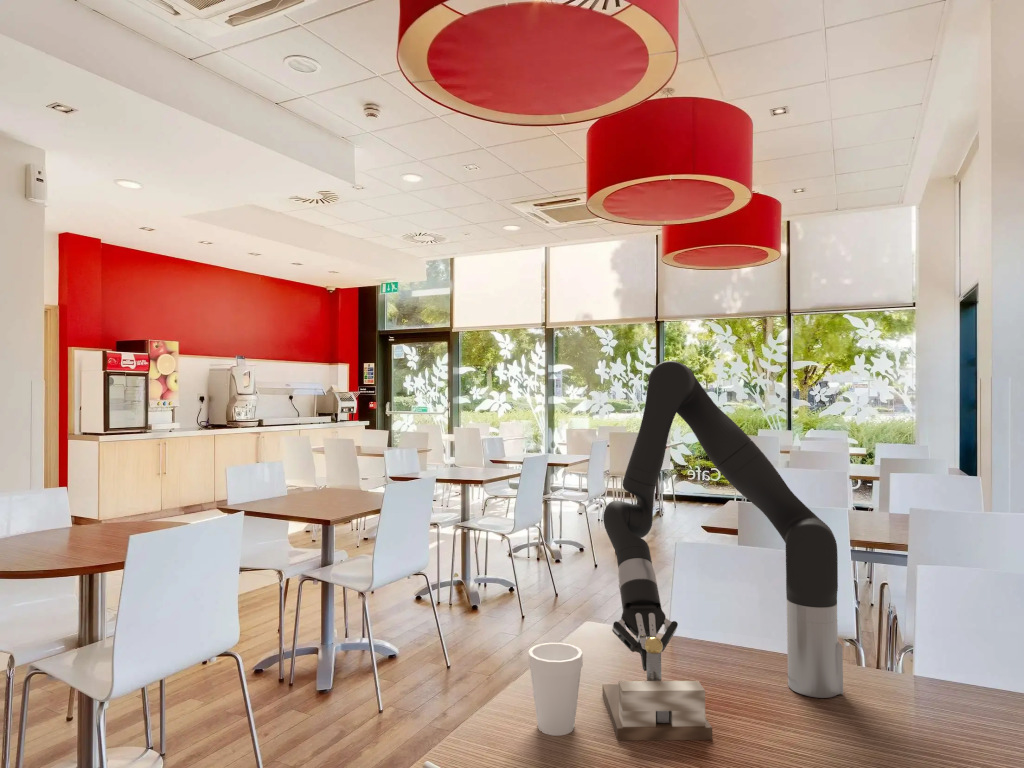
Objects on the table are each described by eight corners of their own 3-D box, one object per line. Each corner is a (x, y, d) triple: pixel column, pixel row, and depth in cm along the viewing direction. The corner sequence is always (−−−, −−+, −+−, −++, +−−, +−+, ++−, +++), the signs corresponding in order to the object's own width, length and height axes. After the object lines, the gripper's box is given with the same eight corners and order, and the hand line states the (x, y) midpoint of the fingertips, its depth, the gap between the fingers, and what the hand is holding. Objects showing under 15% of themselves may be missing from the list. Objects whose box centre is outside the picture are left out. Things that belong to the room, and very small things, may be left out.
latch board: (684, 694, 132) (684, 652, 133) (712, 739, 114) (711, 691, 115) (602, 694, 132) (602, 653, 132) (617, 740, 114) (616, 692, 114)
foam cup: (582, 716, 123) (582, 643, 124) (583, 741, 114) (582, 662, 114) (530, 713, 124) (530, 642, 125) (526, 738, 115) (526, 661, 115)
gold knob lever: (660, 699, 124) (659, 633, 125) (672, 722, 115) (671, 650, 116) (643, 700, 124) (642, 633, 125) (653, 723, 115) (653, 651, 116)
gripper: (607, 577, 134) (618, 663, 122) (674, 576, 135) (691, 663, 122) (603, 596, 140) (613, 681, 127) (668, 596, 140) (684, 681, 127)
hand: (652, 672), depth 124 cm, fingers closed
